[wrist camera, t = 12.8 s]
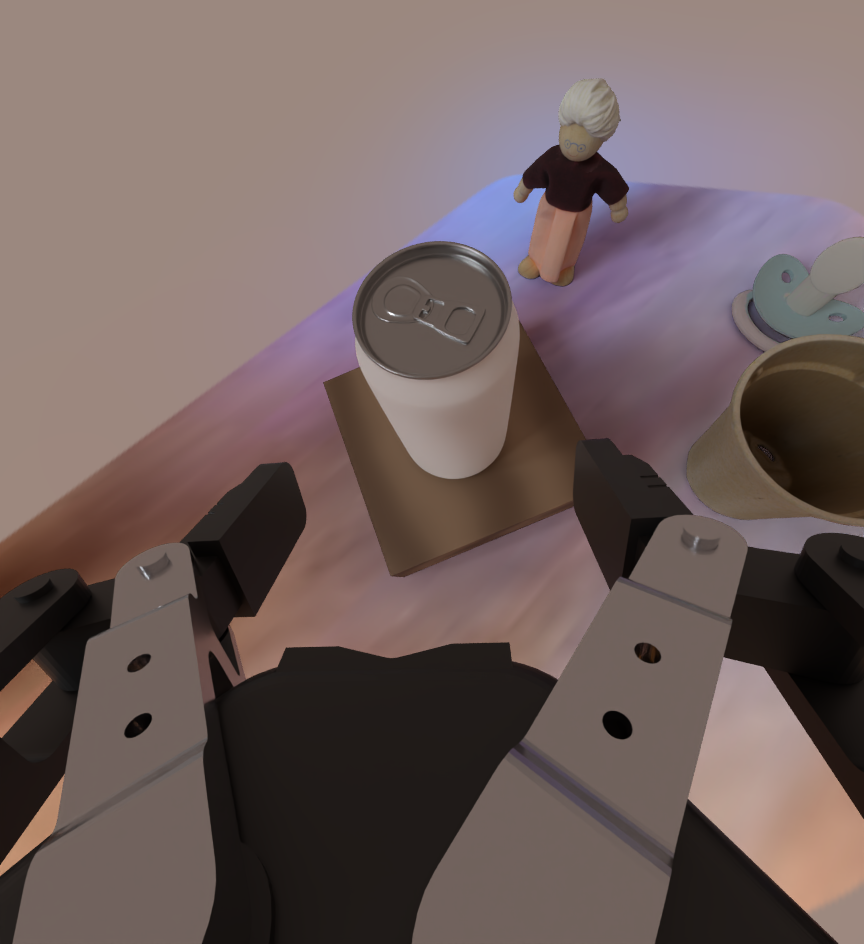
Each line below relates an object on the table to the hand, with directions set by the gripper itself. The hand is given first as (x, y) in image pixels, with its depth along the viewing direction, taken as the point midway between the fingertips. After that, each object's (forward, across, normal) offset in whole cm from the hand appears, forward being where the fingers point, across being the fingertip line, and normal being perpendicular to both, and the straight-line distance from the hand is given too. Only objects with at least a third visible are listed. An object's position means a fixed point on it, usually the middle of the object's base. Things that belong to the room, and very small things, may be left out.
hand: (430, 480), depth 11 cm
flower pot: (+14, -18, +10) cm, 25 cm away
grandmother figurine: (+27, -9, -3) cm, 29 cm away
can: (+14, 0, +5) cm, 14 cm away
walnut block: (+17, 0, +7) cm, 18 cm away
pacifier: (+22, -24, +2) cm, 33 cm away
